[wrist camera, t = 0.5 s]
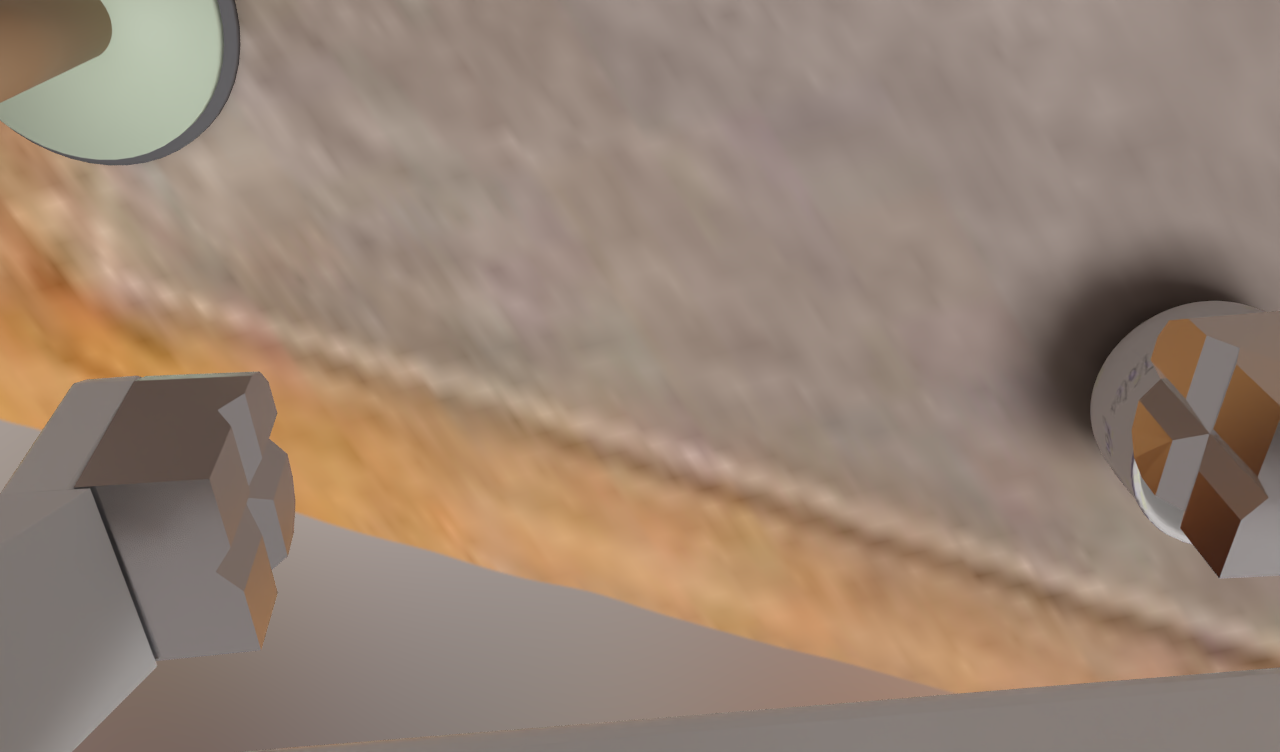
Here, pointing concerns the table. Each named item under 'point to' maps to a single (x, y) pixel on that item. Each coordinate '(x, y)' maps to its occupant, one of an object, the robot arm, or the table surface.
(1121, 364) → the teacup
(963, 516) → the table surface
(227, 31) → the mat
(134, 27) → the peg stand
